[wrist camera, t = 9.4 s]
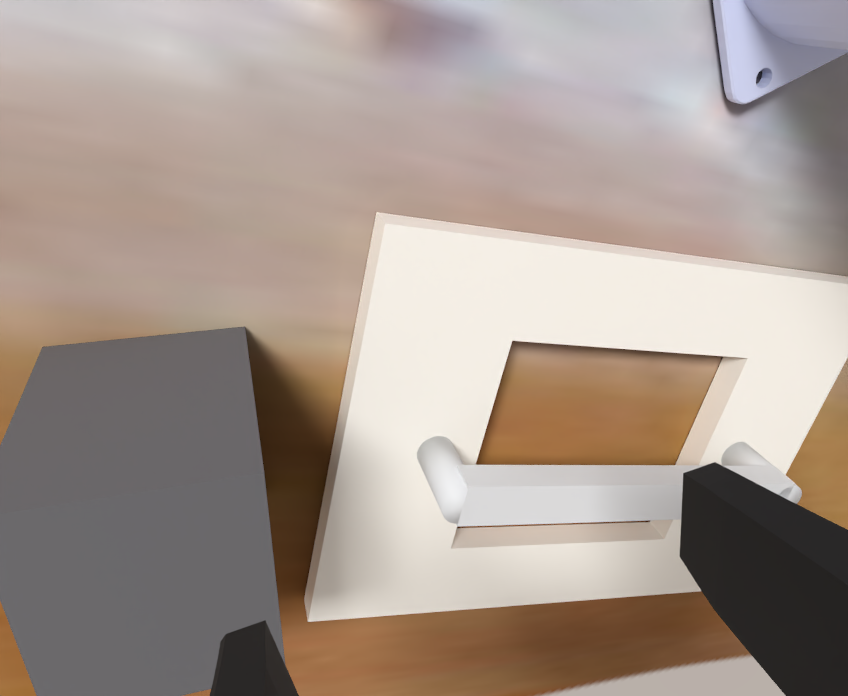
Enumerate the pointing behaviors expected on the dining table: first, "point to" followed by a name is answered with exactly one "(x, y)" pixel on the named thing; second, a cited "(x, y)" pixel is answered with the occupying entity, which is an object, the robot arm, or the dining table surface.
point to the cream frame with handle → (546, 484)
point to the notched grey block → (135, 514)
